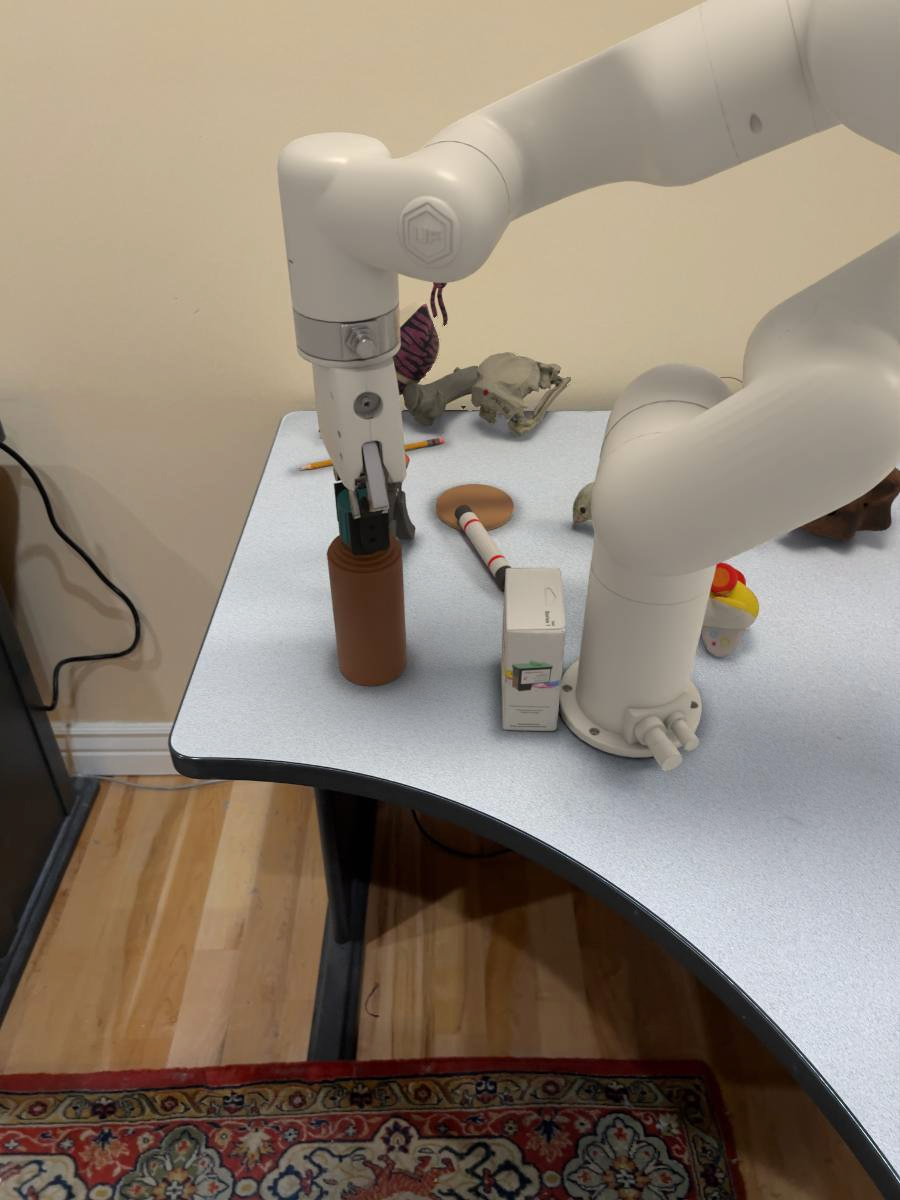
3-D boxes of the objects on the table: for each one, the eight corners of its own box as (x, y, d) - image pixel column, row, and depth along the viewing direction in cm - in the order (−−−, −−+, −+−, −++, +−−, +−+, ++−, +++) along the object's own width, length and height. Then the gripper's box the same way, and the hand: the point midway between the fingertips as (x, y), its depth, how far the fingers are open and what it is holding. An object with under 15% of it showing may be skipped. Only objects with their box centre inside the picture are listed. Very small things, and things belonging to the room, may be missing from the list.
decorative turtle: (947, 467, 96) (898, 430, 102) (819, 488, 92) (775, 449, 98) (917, 543, 102) (872, 505, 108) (795, 566, 99) (756, 525, 105)
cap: (392, 543, 77) (390, 506, 75) (346, 552, 76) (343, 515, 74) (379, 518, 80) (377, 481, 78) (335, 526, 79) (331, 489, 77)
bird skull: (578, 448, 117) (578, 373, 111) (467, 444, 120) (462, 372, 114) (595, 367, 136) (596, 300, 130) (498, 365, 139) (495, 300, 133)
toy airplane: (746, 666, 93) (612, 609, 99) (782, 585, 92) (644, 533, 98) (722, 662, 81) (572, 597, 87) (763, 569, 80) (609, 510, 87)
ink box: (499, 663, 87) (504, 563, 80) (552, 664, 87) (561, 564, 80) (500, 731, 81) (505, 629, 73) (557, 732, 80) (568, 630, 73)
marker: (454, 521, 104) (454, 506, 103) (470, 516, 105) (470, 502, 103) (510, 606, 94) (510, 592, 92) (527, 601, 94) (528, 587, 93)
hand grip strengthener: (417, 537, 103) (414, 415, 93) (391, 608, 93) (384, 481, 84) (397, 535, 103) (392, 413, 94) (369, 605, 94) (360, 479, 84)
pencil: (444, 440, 118) (443, 444, 119) (443, 436, 119) (442, 439, 119) (299, 469, 113) (299, 472, 114) (297, 464, 113) (297, 468, 114)
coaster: (525, 522, 105) (525, 518, 105) (450, 538, 103) (450, 533, 102) (496, 482, 112) (496, 478, 111) (425, 496, 109) (425, 491, 109)
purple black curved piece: (469, 305, 109) (504, 323, 127) (425, 253, 110) (466, 277, 128) (326, 447, 117) (378, 444, 135) (285, 397, 118) (342, 401, 136)
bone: (398, 380, 118) (395, 424, 122) (434, 398, 115) (430, 442, 118) (508, 346, 132) (502, 386, 136) (544, 360, 129) (537, 401, 132)
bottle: (415, 676, 86) (409, 515, 74) (348, 693, 84) (331, 530, 73) (395, 633, 90) (387, 475, 79) (331, 648, 89) (313, 489, 77)
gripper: (434, 367, 61) (437, 584, 73) (367, 280, 73) (379, 478, 85) (322, 385, 59) (344, 605, 71) (273, 292, 72) (298, 492, 83)
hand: (363, 533), depth 78 cm, fingers closed on cap, 3 cm apart
